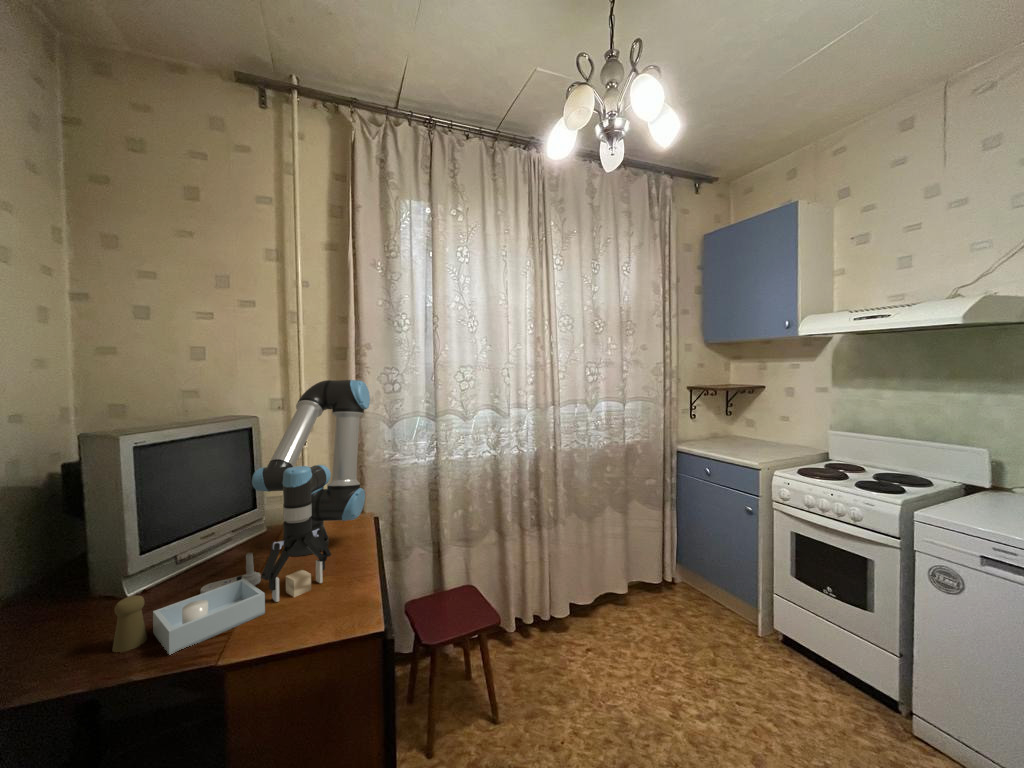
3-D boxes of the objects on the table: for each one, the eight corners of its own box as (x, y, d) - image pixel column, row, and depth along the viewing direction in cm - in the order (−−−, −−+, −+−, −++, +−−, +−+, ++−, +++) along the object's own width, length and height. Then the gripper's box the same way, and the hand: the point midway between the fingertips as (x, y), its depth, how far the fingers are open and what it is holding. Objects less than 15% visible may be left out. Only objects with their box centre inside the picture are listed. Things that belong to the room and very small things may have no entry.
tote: (244, 597, 114) (244, 578, 114) (264, 613, 105) (264, 593, 105) (153, 633, 97) (153, 611, 97) (169, 656, 89) (169, 631, 89)
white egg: (204, 624, 100) (204, 597, 100) (211, 632, 97) (211, 604, 97) (179, 635, 96) (179, 606, 96) (185, 643, 93) (185, 613, 93)
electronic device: (200, 561, 117) (259, 548, 125) (202, 593, 117) (261, 578, 125) (197, 568, 112) (259, 554, 120) (199, 602, 113) (260, 585, 121)
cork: (127, 636, 96) (127, 592, 96) (154, 635, 97) (153, 591, 97) (104, 653, 90) (104, 606, 90) (132, 651, 91) (132, 605, 91)
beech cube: (302, 585, 121) (302, 569, 120) (311, 590, 118) (310, 573, 118) (285, 592, 116) (285, 576, 116) (294, 597, 114) (293, 580, 114)
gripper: (329, 506, 129) (330, 571, 129) (247, 528, 109) (247, 605, 109) (342, 510, 124) (342, 577, 124) (258, 534, 105) (259, 614, 105)
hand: (298, 590), depth 117 cm, fingers open, 12 cm apart
